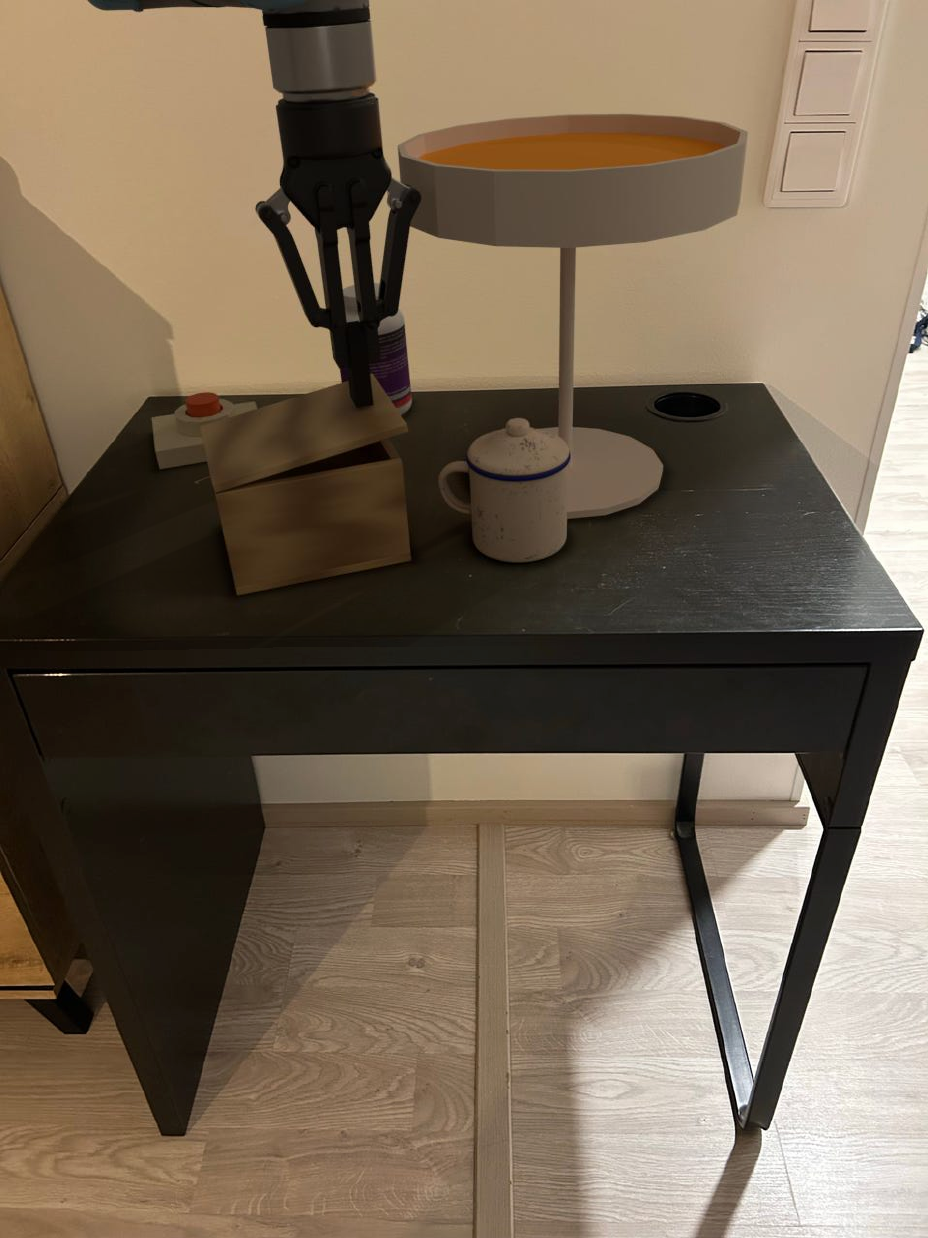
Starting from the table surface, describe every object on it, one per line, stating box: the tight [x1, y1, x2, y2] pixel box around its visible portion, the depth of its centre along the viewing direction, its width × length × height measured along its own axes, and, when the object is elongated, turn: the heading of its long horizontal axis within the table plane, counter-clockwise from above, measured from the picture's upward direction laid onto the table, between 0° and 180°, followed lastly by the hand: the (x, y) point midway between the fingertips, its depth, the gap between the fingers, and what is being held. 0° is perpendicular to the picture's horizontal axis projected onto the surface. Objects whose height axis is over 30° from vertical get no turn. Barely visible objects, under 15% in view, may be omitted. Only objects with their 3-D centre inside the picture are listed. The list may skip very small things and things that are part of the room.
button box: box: [151, 398, 258, 470], centre depth 108 cm, size 12×10×4 cm
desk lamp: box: [397, 113, 749, 520], centre depth 90 cm, size 30×30×31 cm
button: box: [184, 391, 221, 417], centre depth 107 cm, size 4×4×2 cm
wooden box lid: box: [200, 374, 409, 494], centre depth 83 cm, size 16×13×1 cm
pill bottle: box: [339, 282, 413, 416], centre depth 110 cm, size 8×8×14 cm
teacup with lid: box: [437, 417, 571, 563], centre depth 85 cm, size 12×9×12 cm
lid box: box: [213, 438, 412, 596], centre depth 86 cm, size 16×13×10 cm
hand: (361, 400), depth 83 cm, fingers closed
